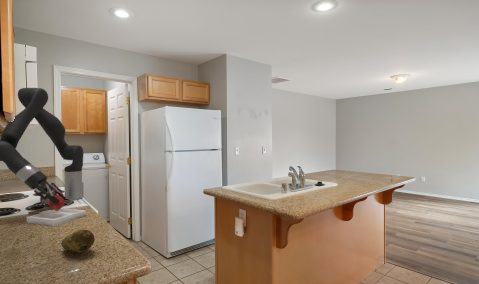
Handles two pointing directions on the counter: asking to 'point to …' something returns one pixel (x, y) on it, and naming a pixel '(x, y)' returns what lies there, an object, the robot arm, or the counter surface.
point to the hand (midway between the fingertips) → (61, 201)
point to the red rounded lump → (60, 204)
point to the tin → (46, 200)
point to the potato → (78, 241)
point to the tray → (56, 216)
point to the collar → (39, 211)
